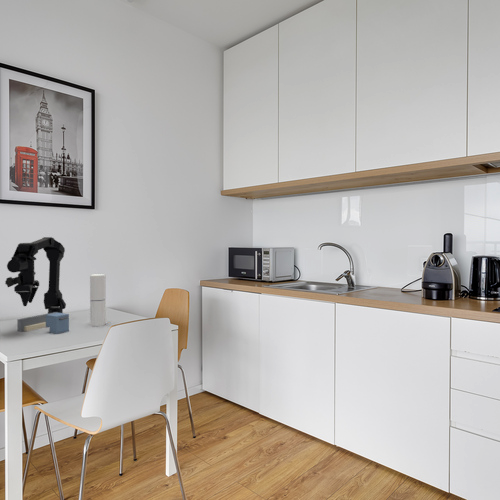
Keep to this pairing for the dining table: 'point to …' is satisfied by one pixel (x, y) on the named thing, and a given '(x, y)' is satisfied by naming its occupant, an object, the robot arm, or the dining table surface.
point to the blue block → (57, 322)
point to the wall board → (32, 322)
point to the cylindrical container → (97, 300)
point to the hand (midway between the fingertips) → (27, 304)
